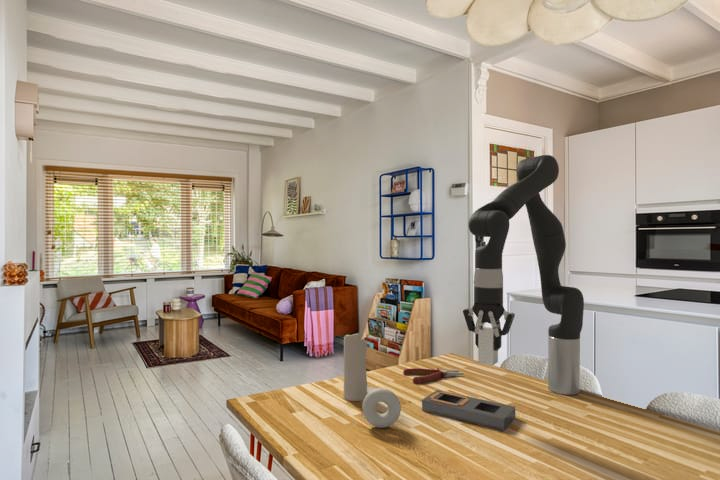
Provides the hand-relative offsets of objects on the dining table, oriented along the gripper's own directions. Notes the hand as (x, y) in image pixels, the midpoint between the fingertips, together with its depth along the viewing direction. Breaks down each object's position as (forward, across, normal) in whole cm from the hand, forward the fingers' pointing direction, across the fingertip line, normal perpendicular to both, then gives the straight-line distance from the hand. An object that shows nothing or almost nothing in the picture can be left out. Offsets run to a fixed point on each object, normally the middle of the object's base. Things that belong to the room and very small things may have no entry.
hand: (488, 348), depth 120 cm
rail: (+19, +6, 0) cm, 20 cm away
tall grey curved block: (+19, +39, +4) cm, 43 cm away
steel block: (+4, 0, 0) cm, 4 cm away
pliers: (+20, +27, -23) cm, 40 cm away
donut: (+19, +21, +21) cm, 35 cm away
